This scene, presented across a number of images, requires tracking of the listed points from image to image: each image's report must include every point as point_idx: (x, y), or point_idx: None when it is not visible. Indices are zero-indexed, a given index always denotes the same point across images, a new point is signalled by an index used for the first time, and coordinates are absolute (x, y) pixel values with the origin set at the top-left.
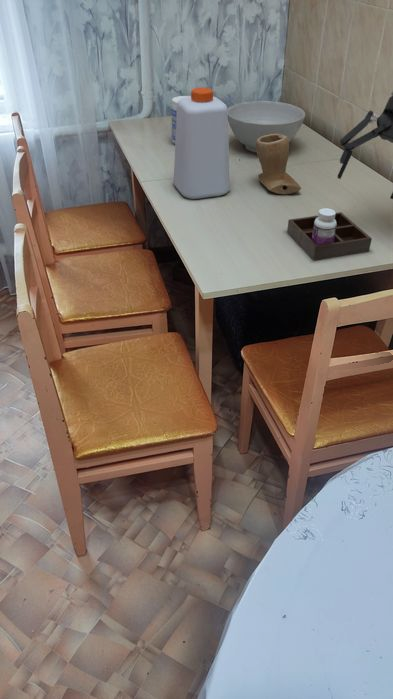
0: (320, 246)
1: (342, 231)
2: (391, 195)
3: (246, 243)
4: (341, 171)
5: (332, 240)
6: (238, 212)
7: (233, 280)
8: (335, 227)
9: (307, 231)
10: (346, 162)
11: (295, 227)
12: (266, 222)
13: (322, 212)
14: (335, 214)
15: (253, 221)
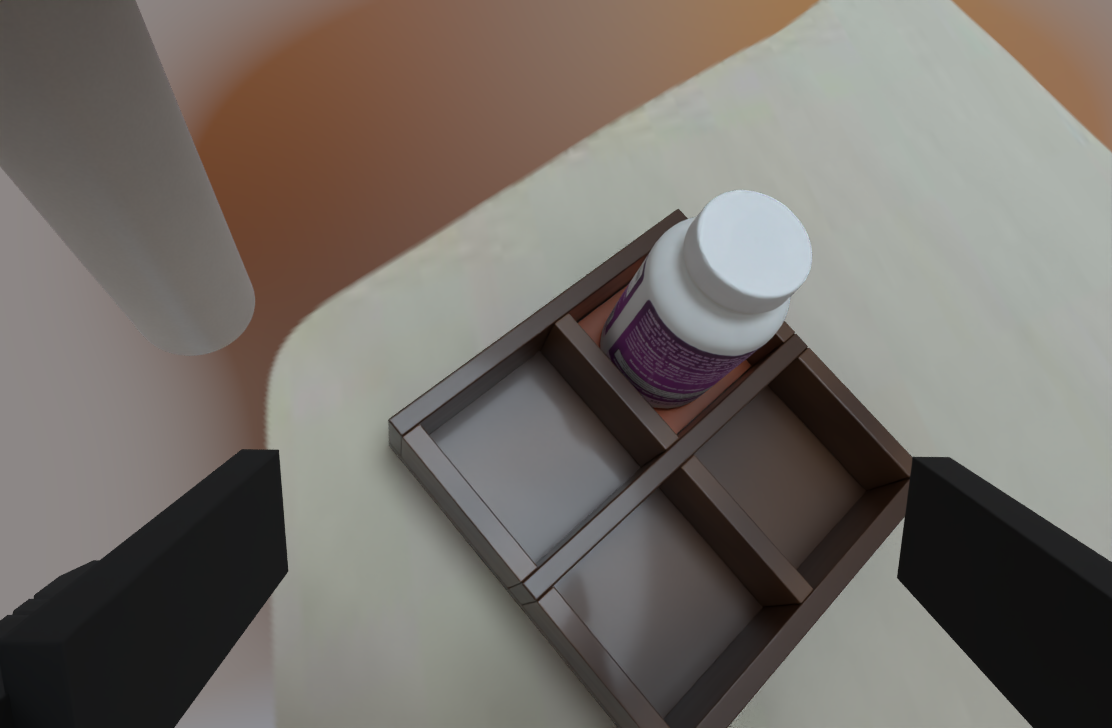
0: (658, 223)
1: (594, 513)
2: (272, 450)
3: (978, 305)
4: (960, 477)
5: (618, 304)
6: None
7: (867, 32)
8: (643, 271)
9: (780, 367)
10: (1032, 538)
11: (858, 403)
12: None
13: (781, 222)
14: (708, 711)
15: None
